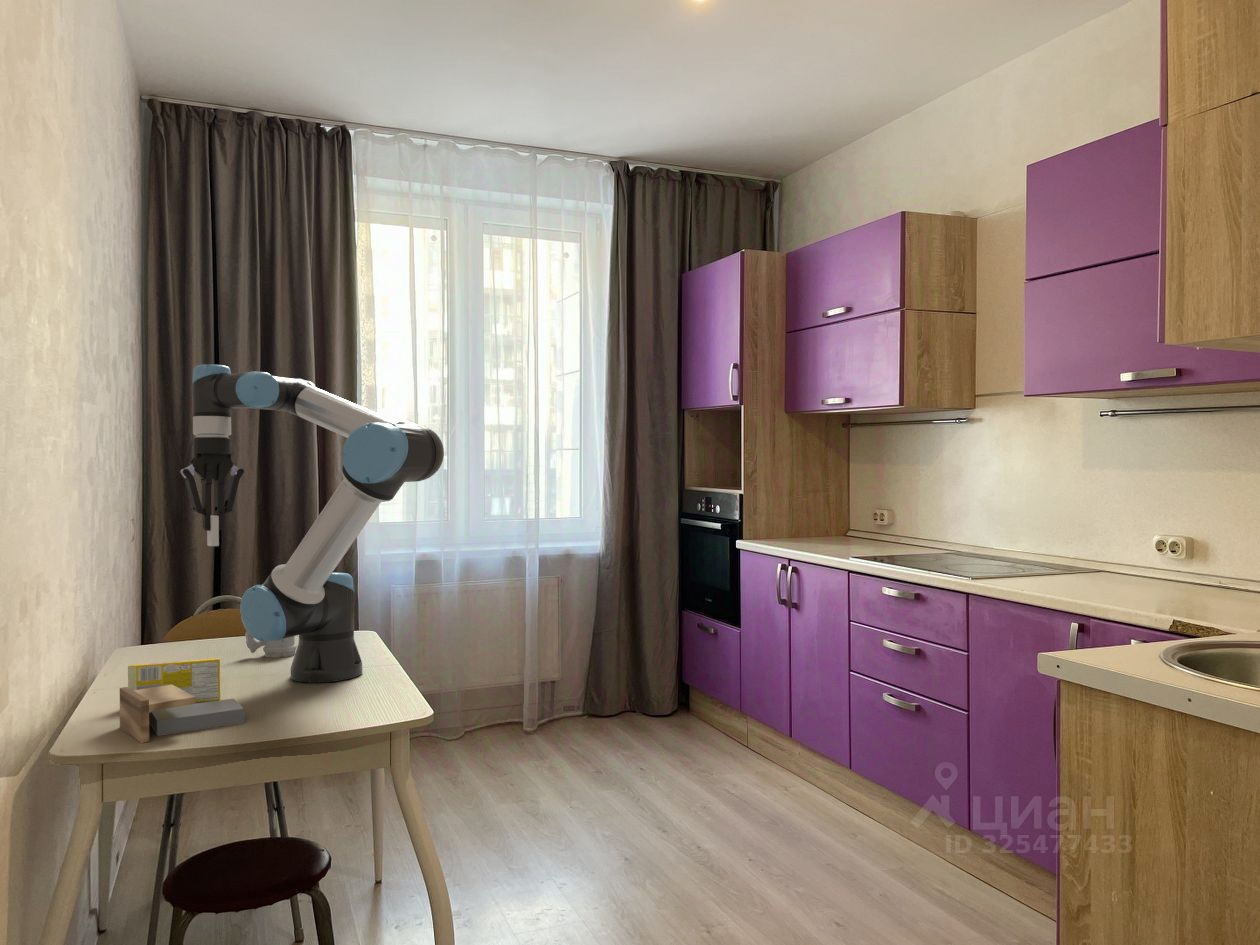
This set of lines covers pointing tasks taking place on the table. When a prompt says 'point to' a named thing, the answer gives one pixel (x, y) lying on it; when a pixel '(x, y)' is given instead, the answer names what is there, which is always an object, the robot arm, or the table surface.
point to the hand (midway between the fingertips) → (213, 545)
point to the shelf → (148, 707)
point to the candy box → (180, 677)
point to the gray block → (196, 716)
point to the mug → (273, 646)
